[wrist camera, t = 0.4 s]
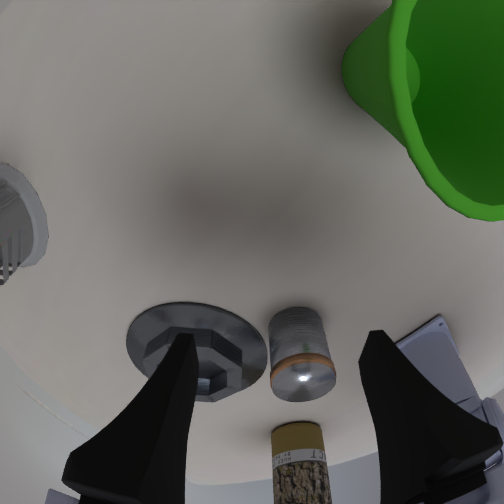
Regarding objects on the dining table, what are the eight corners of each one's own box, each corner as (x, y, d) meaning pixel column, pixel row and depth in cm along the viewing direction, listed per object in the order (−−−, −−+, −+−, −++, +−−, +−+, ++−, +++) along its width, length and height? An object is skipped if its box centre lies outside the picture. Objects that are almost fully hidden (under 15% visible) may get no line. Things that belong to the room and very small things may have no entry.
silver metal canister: (333, 327, 25) (348, 383, 20) (289, 352, 27) (296, 408, 22) (301, 296, 23) (314, 357, 18) (255, 326, 25) (256, 386, 20)
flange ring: (295, 359, 27) (298, 380, 25) (201, 404, 32) (199, 422, 30) (188, 274, 22) (182, 296, 20) (104, 344, 27) (96, 364, 24)
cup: (453, 124, 16) (577, 184, 7) (337, 163, 18) (424, 262, 9) (413, -2, 12) (540, -30, 2) (281, 26, 14) (329, -45, 4)
